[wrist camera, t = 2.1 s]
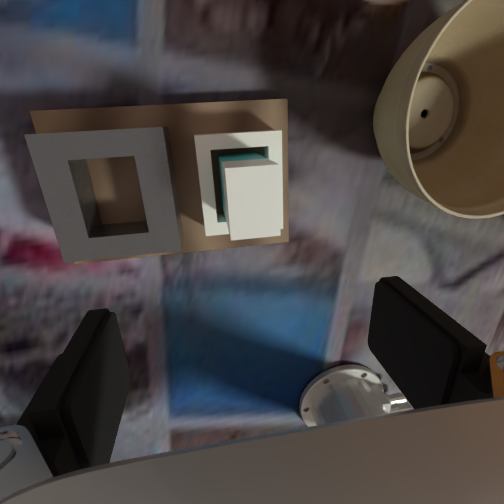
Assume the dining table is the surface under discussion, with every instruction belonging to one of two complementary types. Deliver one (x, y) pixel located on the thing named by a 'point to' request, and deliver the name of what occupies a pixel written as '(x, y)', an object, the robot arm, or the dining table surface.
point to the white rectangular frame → (204, 144)
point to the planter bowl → (449, 112)
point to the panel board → (184, 159)
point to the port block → (84, 200)
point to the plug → (250, 195)
